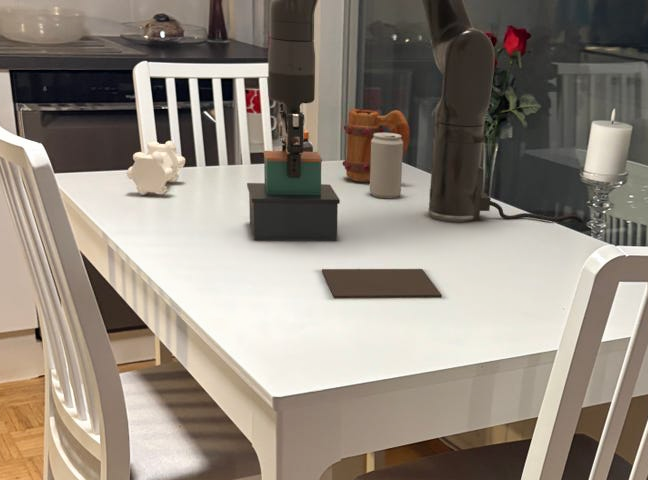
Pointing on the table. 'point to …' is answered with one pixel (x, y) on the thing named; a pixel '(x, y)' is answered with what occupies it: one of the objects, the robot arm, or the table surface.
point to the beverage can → (386, 165)
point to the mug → (369, 139)
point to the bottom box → (293, 214)
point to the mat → (379, 283)
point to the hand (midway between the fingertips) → (291, 172)
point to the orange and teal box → (284, 185)
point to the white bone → (156, 167)
